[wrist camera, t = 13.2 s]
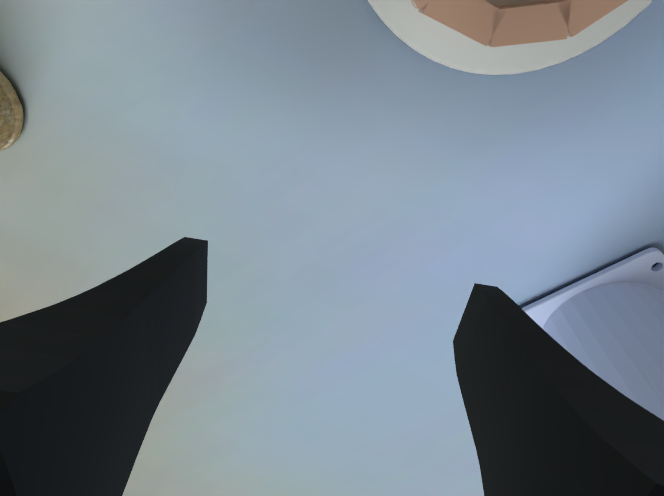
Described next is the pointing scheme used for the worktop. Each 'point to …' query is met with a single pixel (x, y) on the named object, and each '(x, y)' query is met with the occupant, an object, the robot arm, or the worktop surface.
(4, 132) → the sprinkles bottle
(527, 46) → the collar dish
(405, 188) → the worktop surface
